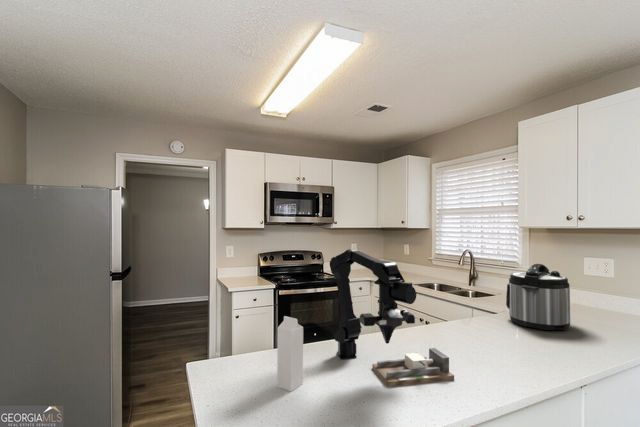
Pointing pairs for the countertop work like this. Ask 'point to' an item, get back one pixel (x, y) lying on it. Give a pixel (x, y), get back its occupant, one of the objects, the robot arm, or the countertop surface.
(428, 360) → the carriage
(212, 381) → the countertop surface
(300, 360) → the milk
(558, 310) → the pressure cooker
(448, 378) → the gauge base
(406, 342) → the countertop surface
